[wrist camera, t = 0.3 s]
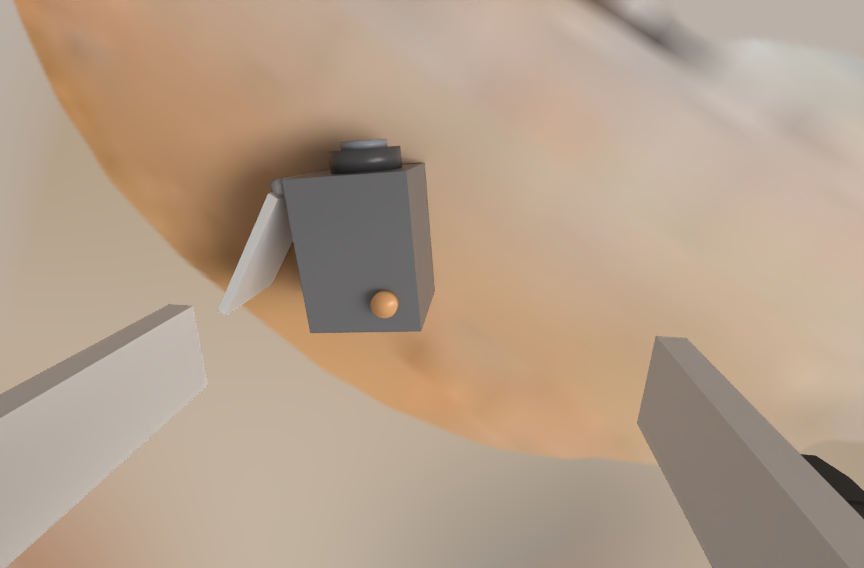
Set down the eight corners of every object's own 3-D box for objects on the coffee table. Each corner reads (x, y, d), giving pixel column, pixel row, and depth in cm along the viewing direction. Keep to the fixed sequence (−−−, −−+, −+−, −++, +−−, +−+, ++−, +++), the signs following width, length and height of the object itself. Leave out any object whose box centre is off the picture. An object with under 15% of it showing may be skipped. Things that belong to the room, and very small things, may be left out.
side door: (309, 163, 38) (262, 170, 30) (327, 174, 38) (285, 184, 30) (259, 273, 43) (206, 304, 35) (275, 282, 43) (227, 316, 35)
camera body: (323, 144, 38) (270, 147, 28) (422, 136, 36) (400, 136, 27) (345, 293, 42) (306, 337, 33) (434, 291, 41) (419, 336, 32)
